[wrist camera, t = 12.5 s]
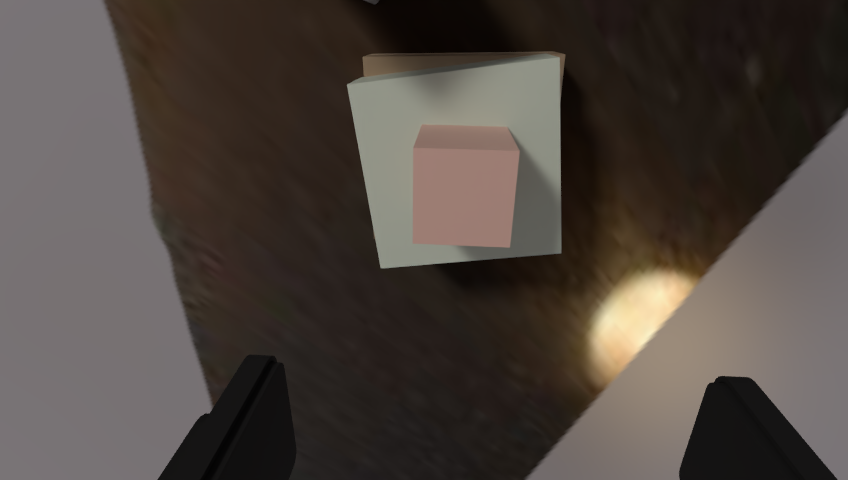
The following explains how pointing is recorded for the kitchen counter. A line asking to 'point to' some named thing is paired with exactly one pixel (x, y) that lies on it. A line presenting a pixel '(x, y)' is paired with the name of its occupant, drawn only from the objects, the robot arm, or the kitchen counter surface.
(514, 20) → the kitchen counter surface
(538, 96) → the tower top
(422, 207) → the pink block
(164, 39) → the kitchen counter surface
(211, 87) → the kitchen counter surface
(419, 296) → the kitchen counter surface
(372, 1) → the coffee box
